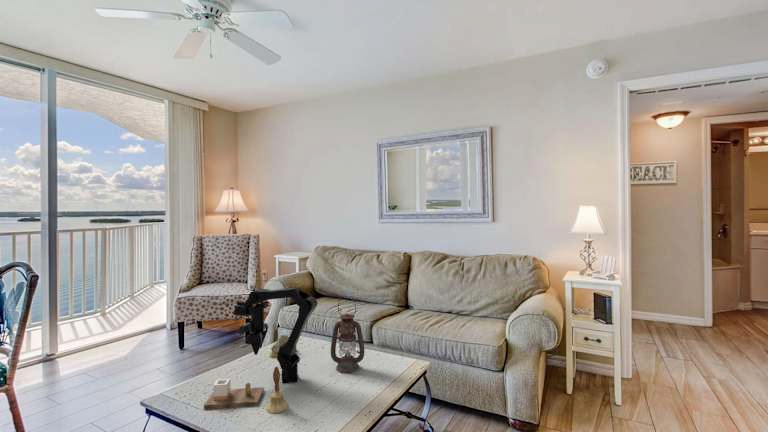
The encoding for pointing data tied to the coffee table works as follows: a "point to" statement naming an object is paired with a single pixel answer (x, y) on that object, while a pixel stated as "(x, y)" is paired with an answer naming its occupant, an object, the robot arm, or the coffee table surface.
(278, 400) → the hand bell
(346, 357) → the lantern
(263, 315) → the robot arm
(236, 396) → the pin board
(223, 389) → the sleeve
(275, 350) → the ceramic model
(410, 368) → the coffee table surface
